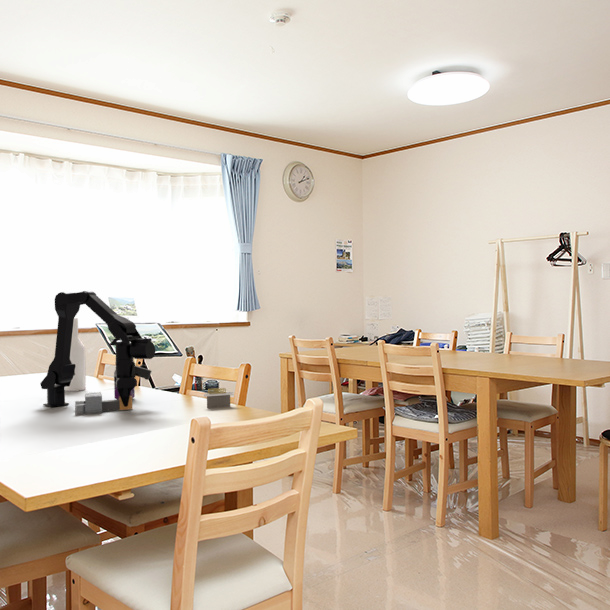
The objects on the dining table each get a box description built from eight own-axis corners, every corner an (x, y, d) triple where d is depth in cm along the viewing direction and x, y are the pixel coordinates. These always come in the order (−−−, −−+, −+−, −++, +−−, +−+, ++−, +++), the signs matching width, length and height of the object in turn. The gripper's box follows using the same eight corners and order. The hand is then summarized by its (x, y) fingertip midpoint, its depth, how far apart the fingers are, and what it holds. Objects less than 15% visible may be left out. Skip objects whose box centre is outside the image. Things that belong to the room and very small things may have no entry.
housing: (75, 415, 184) (74, 397, 184) (75, 410, 193) (75, 393, 193) (102, 413, 187) (101, 395, 187) (101, 408, 196) (100, 391, 196)
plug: (87, 412, 188) (87, 400, 188) (87, 410, 192) (87, 398, 192) (132, 409, 193) (132, 396, 193) (131, 407, 197) (131, 395, 197)
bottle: (63, 391, 239) (62, 318, 239) (67, 388, 246) (66, 318, 247) (84, 390, 240) (83, 318, 240) (87, 388, 248) (86, 318, 248)
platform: (188, 407, 198) (187, 388, 198) (239, 403, 204) (239, 384, 204) (194, 413, 186) (194, 392, 187) (248, 408, 193) (248, 389, 193)
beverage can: (128, 401, 211) (128, 368, 211) (110, 400, 212) (110, 368, 212) (138, 398, 218) (137, 366, 218) (120, 397, 219) (120, 366, 219)
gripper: (152, 359, 188) (153, 407, 188) (146, 355, 206) (147, 399, 206) (116, 361, 184) (117, 410, 184) (113, 357, 202) (114, 402, 202)
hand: (125, 405), depth 194 cm, fingers closed on plug, 4 cm apart
